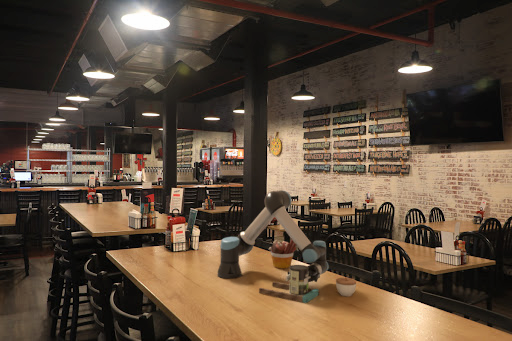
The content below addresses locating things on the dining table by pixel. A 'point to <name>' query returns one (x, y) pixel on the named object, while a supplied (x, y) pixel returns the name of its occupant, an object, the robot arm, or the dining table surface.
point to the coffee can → (298, 280)
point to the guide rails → (282, 294)
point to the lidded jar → (346, 286)
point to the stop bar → (310, 295)
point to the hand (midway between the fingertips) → (295, 280)
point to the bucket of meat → (282, 253)
